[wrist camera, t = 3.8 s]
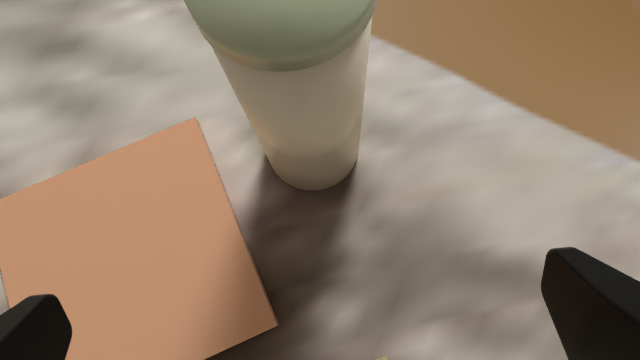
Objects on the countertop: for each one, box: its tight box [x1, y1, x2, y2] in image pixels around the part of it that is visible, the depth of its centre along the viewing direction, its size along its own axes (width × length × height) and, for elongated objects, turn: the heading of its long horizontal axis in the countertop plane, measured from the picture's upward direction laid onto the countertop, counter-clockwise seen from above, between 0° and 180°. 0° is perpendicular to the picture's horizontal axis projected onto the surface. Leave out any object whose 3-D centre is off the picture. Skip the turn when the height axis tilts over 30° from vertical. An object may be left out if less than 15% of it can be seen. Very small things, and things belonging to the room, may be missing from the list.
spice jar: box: [184, 0, 377, 191], centre depth 17 cm, size 5×5×13 cm
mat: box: [0, 117, 279, 360], centre depth 22 cm, size 11×11×1 cm
